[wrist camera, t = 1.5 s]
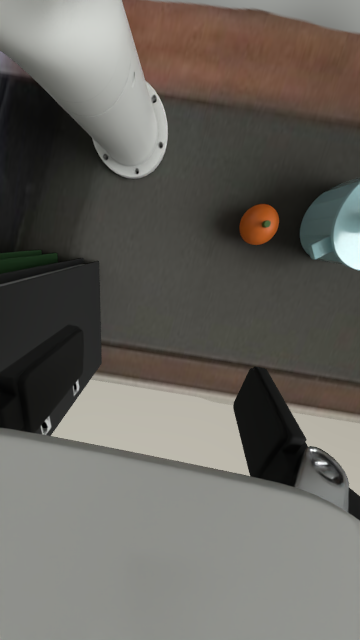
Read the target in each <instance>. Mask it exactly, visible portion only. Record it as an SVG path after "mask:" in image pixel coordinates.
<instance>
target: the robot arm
mask: <svg viewBox="0 0 360 640" xmlns="http://www.w3.org/2000/svg"><path fill="white" fill-rule="evenodd" d="M0 51H2V52H3V53H4V54H6V55H7V56H8V57H9V58H11V59H12V60H13V61H14V62H16V63H17V64H18V65H19V66H20V67H21V68H22V69H24V70H25V71H26V72H27V73H28V74H29V75H30V76H31V77H32V78H33V79H34V80H35V81H36V82H37V83H38V84H39V85H40V86H41V87H43V88H44V89H45V90H46V91H47V92H48V93H49V94H50V95H51V96H52V97H53V98H54V100H55V101H56V102H57V103H58V104H59V105H60V106H61V107H62V108H63V109H64V110H65V111H66V112H67V113H68V114H69V115H70V116H71V117H72V118H73V119H74V120H75V121H76V122H77V123H78V124H79V125H80V126H81V127H82V128H83V129H84V130H85V131H86V132H87V133H88V134H89V135H90V136H91V137H92V140H93V143H94V146H95V148H96V150H97V152H98V154H99V156H100V158H101V159H102V160H103V162H104V163H105V164H106V165H107V166H108V167H109V168H110V169H111V170H112V171H113V172H115V173H116V174H118V175H120V176H122V177H125V178H129V179H137V178H142V177H144V176H147V175H148V174H150V173H151V172H153V171H154V170H155V168H156V167H157V166H158V165H159V163H160V162H161V160H162V158H163V156H164V153H165V150H166V146H167V139H168V125H167V119H166V114H165V111H164V107H163V105H162V102H161V100H160V98H159V96H158V95H157V93H156V92H155V90H154V89H153V88H152V87H151V86H150V85H149V83H148V82H146V81H145V78H144V75H143V71H142V68H141V64H140V61H139V58H138V54H137V51H136V47H135V44H134V41H133V37H132V34H131V30H130V27H129V23H128V20H127V17H126V13H125V10H124V7H123V3H122V0H0ZM154 101H156V102H155V103H153V102H154ZM160 146H163V147H162V148H161V149H160ZM107 157H108V160H107ZM137 171H139V173H138V174H137ZM83 362H84V331H83V330H81V328H80V327H78V326H73V325H67V326H65V327H64V328H63V329H61V330H60V331H58V332H57V333H55V334H54V335H53V336H51V337H50V338H48V339H47V340H45V341H44V342H43V343H41V344H40V345H38V346H37V347H35V348H34V349H33V350H31V351H30V352H28V353H27V354H26V355H24V356H23V357H21V358H20V359H18V360H17V361H16V362H14V363H13V364H11V365H10V366H8V367H7V368H6V369H4V370H3V371H1V372H0V640H360V496H359V495H357V494H356V493H355V492H354V491H353V490H351V489H350V488H349V482H348V478H347V476H346V474H345V472H344V470H343V469H342V467H341V466H340V465H339V464H338V462H336V460H335V459H334V458H333V457H331V456H330V455H329V454H328V453H326V452H325V451H323V450H321V449H319V448H317V447H312V446H310V447H308V446H307V444H306V443H305V441H306V438H305V436H304V434H303V432H302V431H301V429H300V428H299V425H298V424H297V422H296V420H295V418H294V417H293V415H292V413H291V411H290V410H289V408H288V406H287V404H286V403H285V401H284V399H283V397H282V396H281V394H280V392H279V390H278V389H277V387H276V385H275V383H274V382H273V380H272V378H271V376H270V375H269V373H268V371H267V370H266V369H264V368H260V367H254V368H251V369H250V370H249V372H248V374H247V376H246V378H245V381H244V383H243V385H242V387H241V389H240V391H239V393H238V395H237V397H236V399H235V401H234V412H235V417H236V421H237V424H238V429H239V433H240V437H241V441H242V445H243V449H244V453H245V457H246V461H247V465H248V469H249V473H250V476H246V475H242V474H237V473H232V472H227V471H223V470H218V469H213V468H208V467H203V466H198V465H193V464H188V463H184V462H179V461H174V460H169V459H164V458H159V457H154V456H149V455H144V454H139V453H134V452H129V451H124V450H119V449H114V448H109V447H104V446H98V445H94V444H88V443H83V442H78V441H73V440H68V439H63V438H58V437H52V436H47V435H41V434H36V433H35V432H36V431H37V430H38V429H39V428H40V427H41V425H42V424H43V423H44V422H45V420H46V419H47V418H48V417H49V415H50V414H51V413H52V412H53V410H54V409H55V408H56V407H57V405H58V404H59V403H60V402H61V400H62V399H63V398H64V397H65V395H66V394H67V393H68V392H69V390H70V389H71V388H72V387H73V385H74V384H75V383H76V382H77V380H78V379H79V378H80V377H81V375H82V373H83Z"/></svg>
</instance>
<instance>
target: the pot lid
mask: <svg viewBox="0 0 360 640" xmlns="http://www.w3.org/2000/svg"><path fill="white" fill-rule="evenodd" d="M331 245H332V249H333V252H334V254H335V256H336V257H337V258H338V260H339V261H340V262H341V263H342V264H344V265H345V266H347V267H349V268H352V269H355V270H360V181H359V182H358V183H357V184H356V185H355V186H354V187H353V188H352V189H351V191H350V192H349V193H348V194H347V196H346V197H345V198H344V200H343V201H342V203H341V205H340V206H339V208H338V210H337V212H336V215H335V217H334V220H333V224H332V229H331Z"/></svg>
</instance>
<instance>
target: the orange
mask: <svg viewBox="0 0 360 640" xmlns="http://www.w3.org/2000/svg"><path fill="white" fill-rule="evenodd" d="M278 226H279V216H278V213H277V212H276V210H275V209H274V208H273V207H272V206H270V205H267V204H258V205H255V206H253V207H251V208H250V209H248V210H247V211H246V212H245V214H244V215H243V217H242V219H241V221H240V226H239V230H240V234H241V237H242V238H243V240H244V241H245V242H247V243H249V244H252V245H260V244H263V243H265V242H267V241H269V240H270V239H271V238H272V237H273V236H274V235H275V233H276V231H277V229H278Z"/></svg>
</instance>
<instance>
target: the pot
mask: <svg viewBox="0 0 360 640" xmlns="http://www.w3.org/2000/svg"><path fill="white" fill-rule="evenodd" d="M359 181H360V177H359V178H356V179H353V180H351V181H348V182H345V183H342V184H339V185H337V186H335V187H333V188H331V189H329V190H327V191H326V192H324V193H323V194H321V195H320V196H319V197H318V198H317V199H316V200H315V201H314V202H313V203H312V204H311V205H310V207H309V208H308V210H307V211H306V213H305V215H304V217H303V220H302V223H301V227H300V240H301V244H302V247H303V248H304V250H305V251H306V253H307V254H309V255H310V256H311V259H319V260H322V261H327V262H332V263H338V264H342V263H341V262H340V261H339V260H338V258H337V257H336V256H335V254H334V252H333V249H332V245H331V229H332V224H333V220H334V217H335V215H336V212H337V210H338V208H339V206H340V205H341V203H342V201H343V200H344V198H345V197H346V196H347V194H348V193H349V192H350V191H351V189H352V188H353V187H354V186H355V185H356V184H357V183H358V182H359ZM343 265H344V264H343Z"/></svg>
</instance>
